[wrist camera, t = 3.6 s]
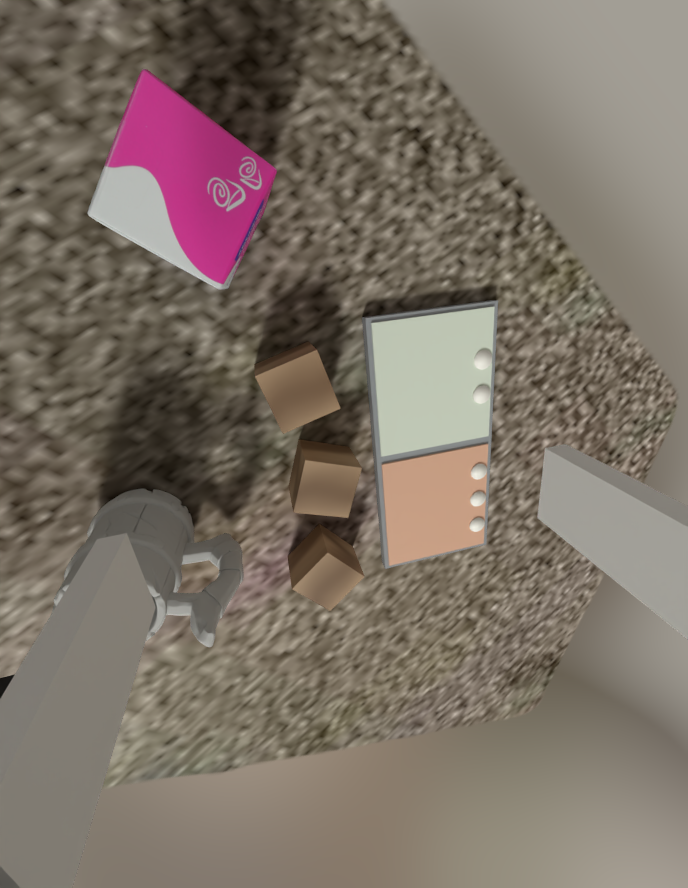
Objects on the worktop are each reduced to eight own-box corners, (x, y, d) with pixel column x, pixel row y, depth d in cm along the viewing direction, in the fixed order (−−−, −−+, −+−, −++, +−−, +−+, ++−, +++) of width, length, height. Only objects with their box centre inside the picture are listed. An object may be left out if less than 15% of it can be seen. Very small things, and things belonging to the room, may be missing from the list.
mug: (97, 479, 31) (12, 586, 20) (250, 493, 34) (250, 591, 23) (96, 560, 33) (20, 694, 22) (239, 565, 36) (234, 684, 25)
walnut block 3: (287, 555, 37) (292, 589, 33) (319, 522, 37) (327, 552, 33) (321, 577, 39) (330, 611, 35) (352, 545, 38) (364, 576, 34)
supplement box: (230, 291, 28) (218, 295, 17) (145, 241, 26) (73, 211, 15) (268, 213, 26) (280, 166, 16) (182, 153, 24) (131, 55, 14)
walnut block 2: (298, 438, 33) (305, 460, 29) (348, 446, 34) (361, 468, 30) (288, 485, 34) (293, 512, 30) (337, 491, 36) (348, 517, 32)
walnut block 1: (254, 364, 30) (254, 376, 26) (308, 341, 30) (317, 349, 26) (279, 415, 32) (282, 433, 28) (329, 393, 32) (340, 408, 28)
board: (362, 317, 30) (366, 318, 29) (491, 300, 32) (500, 300, 31) (382, 562, 40) (386, 571, 39) (480, 538, 42) (487, 546, 40)
